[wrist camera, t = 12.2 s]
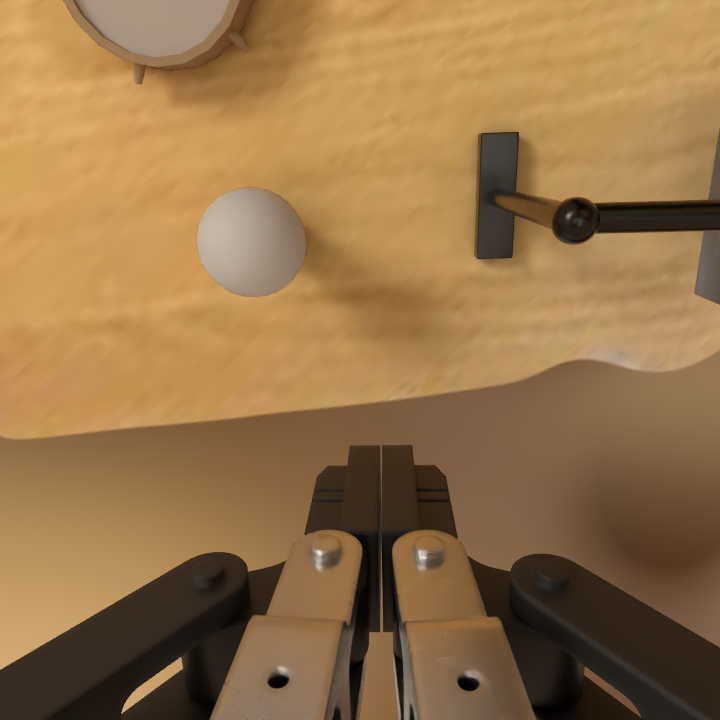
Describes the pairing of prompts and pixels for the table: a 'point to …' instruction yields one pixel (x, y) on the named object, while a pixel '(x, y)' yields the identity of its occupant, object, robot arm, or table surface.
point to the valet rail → (565, 207)
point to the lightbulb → (251, 242)
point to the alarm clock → (162, 29)
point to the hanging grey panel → (711, 247)
